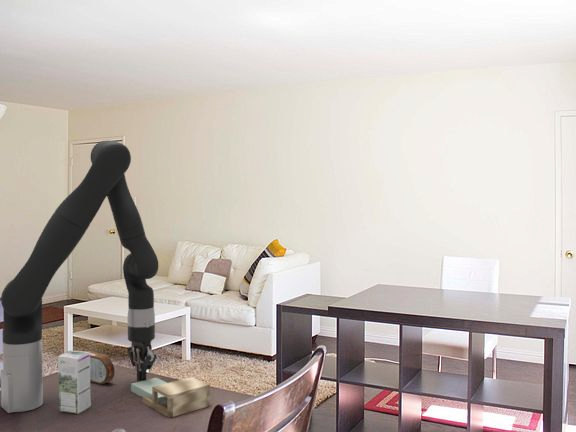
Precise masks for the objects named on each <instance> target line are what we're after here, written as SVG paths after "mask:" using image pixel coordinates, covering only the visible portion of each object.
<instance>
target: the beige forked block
mask: <svg viewBox="0 0 576 432" xmlns="http://www.w3.org/2000/svg"><path fill="white" fill-rule="evenodd" d="M158 393H159V394H161V395H163V396H165V397H167V404H166V405H167V406H165V405H161V404H159V403H158ZM210 401H211V385H210V383H207V382H204V381H202V380H200V379H197V378H196V377H193V376H191V377H186V378H182V379H178V380H174V381H170V382H167V383H166V384H162V385H158V386H154V387H152V399H150V398H148V397H142V403H143V404H144V405H145V406H148V407H149V408H151V409H153V410H154V409H155V410H154V411H156V412H158V413H160V414H161V415H163V416H165V417H167V418H169V419H171V418H173V417H177V416H180V415H181V416H182V415H185V414H188V413H190V412H193V411H194V412H195V411H197V410H201V409H204V408H208V407H210V406H211V402H210Z"/></svg>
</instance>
